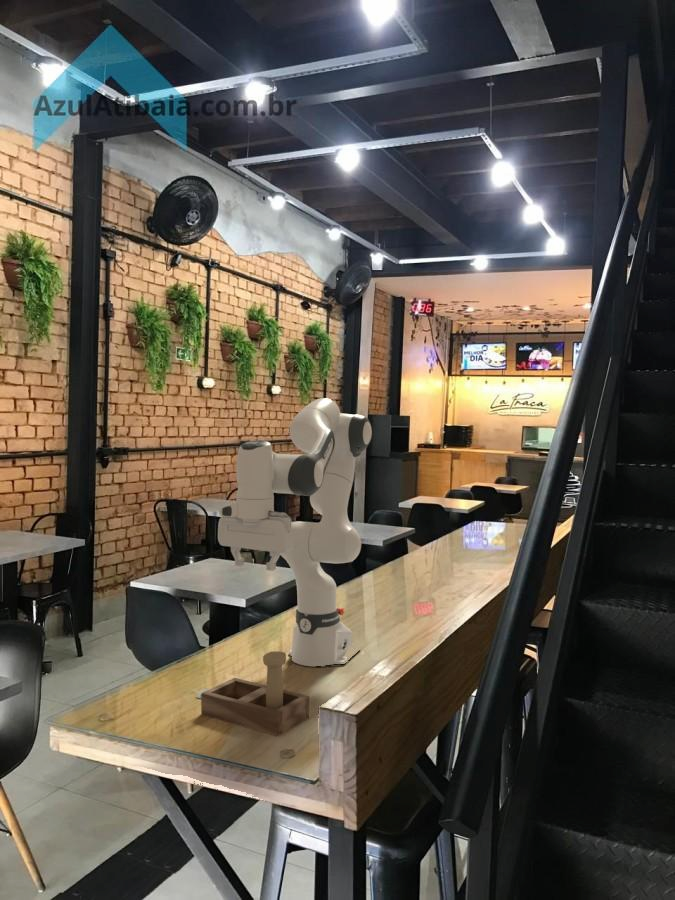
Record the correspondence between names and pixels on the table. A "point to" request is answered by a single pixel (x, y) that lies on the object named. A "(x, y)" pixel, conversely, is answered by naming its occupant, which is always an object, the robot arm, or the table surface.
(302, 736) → the table surface
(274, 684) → the handle
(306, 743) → the table surface
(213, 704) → the divided box
